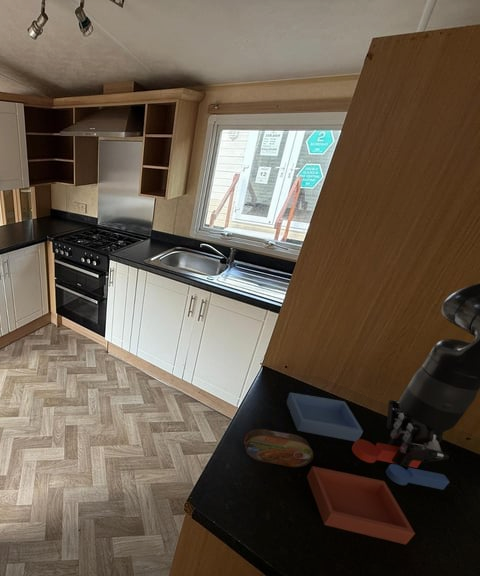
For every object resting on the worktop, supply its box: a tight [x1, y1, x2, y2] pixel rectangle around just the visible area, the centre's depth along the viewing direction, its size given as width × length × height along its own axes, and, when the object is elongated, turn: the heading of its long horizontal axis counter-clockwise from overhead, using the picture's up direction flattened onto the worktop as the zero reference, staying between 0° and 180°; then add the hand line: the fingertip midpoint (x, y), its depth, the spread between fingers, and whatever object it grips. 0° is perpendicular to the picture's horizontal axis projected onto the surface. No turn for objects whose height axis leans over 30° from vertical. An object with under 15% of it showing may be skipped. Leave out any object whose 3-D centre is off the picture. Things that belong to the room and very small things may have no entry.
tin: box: [243, 428, 314, 468], centre depth 77 cm, size 15×3×8 cm, turn 76°
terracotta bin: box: [306, 465, 416, 545], centre depth 68 cm, size 15×11×4 cm
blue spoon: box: [385, 463, 450, 491], centre depth 73 cm, size 11×4×3 cm, turn 76°
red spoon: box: [351, 438, 422, 469], centre depth 63 cm, size 11×4×3 cm, turn 76°
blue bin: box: [286, 392, 364, 442], centre depth 89 cm, size 15×11×4 cm
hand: (395, 458), depth 63 cm, fingers closed on red spoon, 2 cm apart
